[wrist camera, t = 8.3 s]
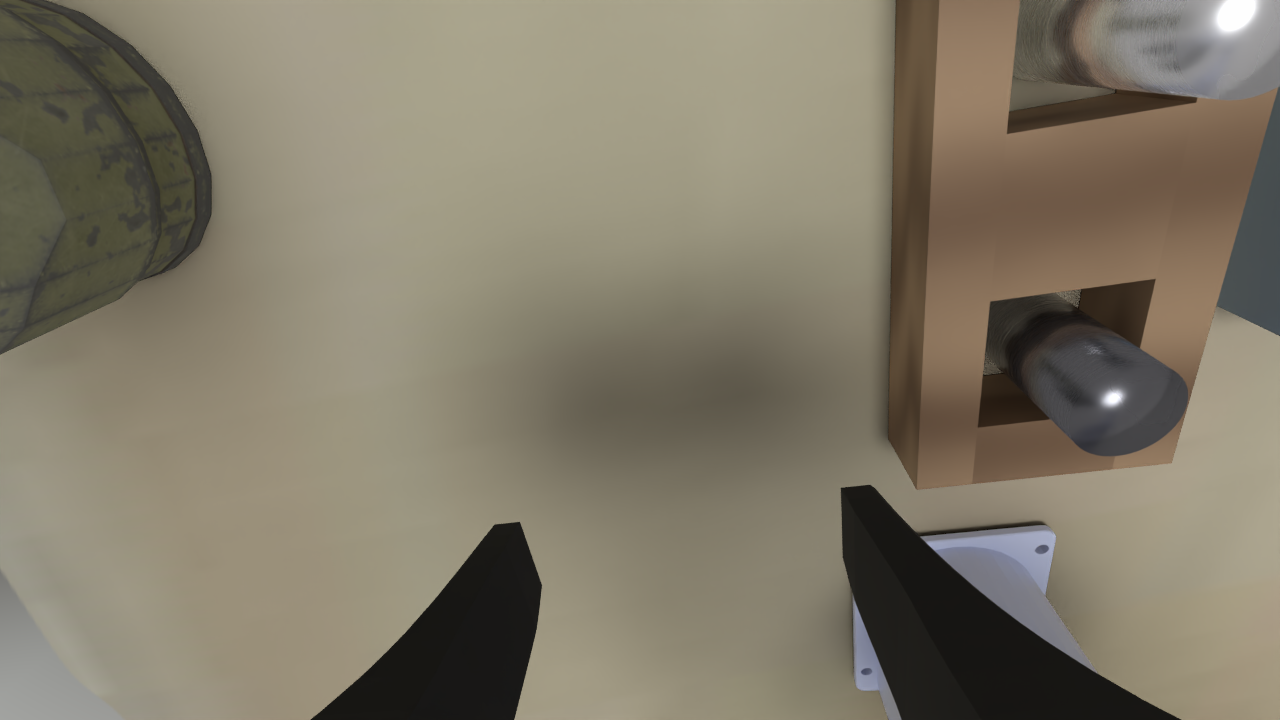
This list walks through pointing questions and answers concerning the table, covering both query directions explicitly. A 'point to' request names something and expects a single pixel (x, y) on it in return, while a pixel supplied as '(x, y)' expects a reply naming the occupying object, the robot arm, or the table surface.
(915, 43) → the rack
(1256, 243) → the socket block
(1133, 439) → the black pin
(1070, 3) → the steel pin
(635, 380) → the table surface
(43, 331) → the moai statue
